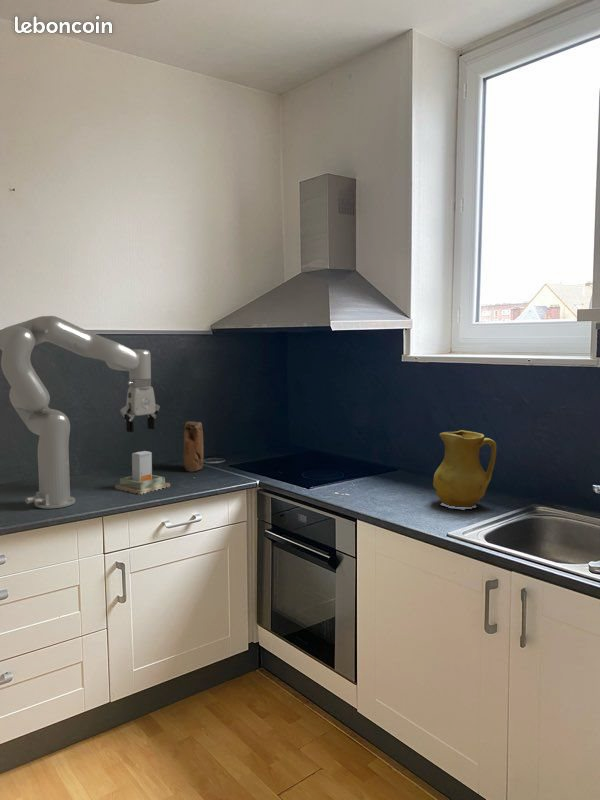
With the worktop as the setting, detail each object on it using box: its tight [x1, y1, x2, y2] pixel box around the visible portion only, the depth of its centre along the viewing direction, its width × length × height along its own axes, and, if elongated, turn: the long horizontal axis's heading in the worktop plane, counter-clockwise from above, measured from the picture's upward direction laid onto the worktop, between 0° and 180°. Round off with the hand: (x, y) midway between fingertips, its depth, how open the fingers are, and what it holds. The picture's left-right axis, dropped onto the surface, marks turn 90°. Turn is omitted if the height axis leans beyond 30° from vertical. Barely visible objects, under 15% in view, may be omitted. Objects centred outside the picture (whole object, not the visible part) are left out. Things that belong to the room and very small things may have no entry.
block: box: [183, 421, 204, 473], centre depth 261 cm, size 11×8×20 cm
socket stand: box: [114, 474, 171, 495], centre depth 231 cm, size 14×14×4 cm
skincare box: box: [131, 450, 153, 482], centre depth 230 cm, size 6×4×12 cm
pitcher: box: [432, 429, 497, 507], centre depth 207 cm, size 17×19×25 cm
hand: (140, 430), depth 229 cm, fingers open, 9 cm apart
